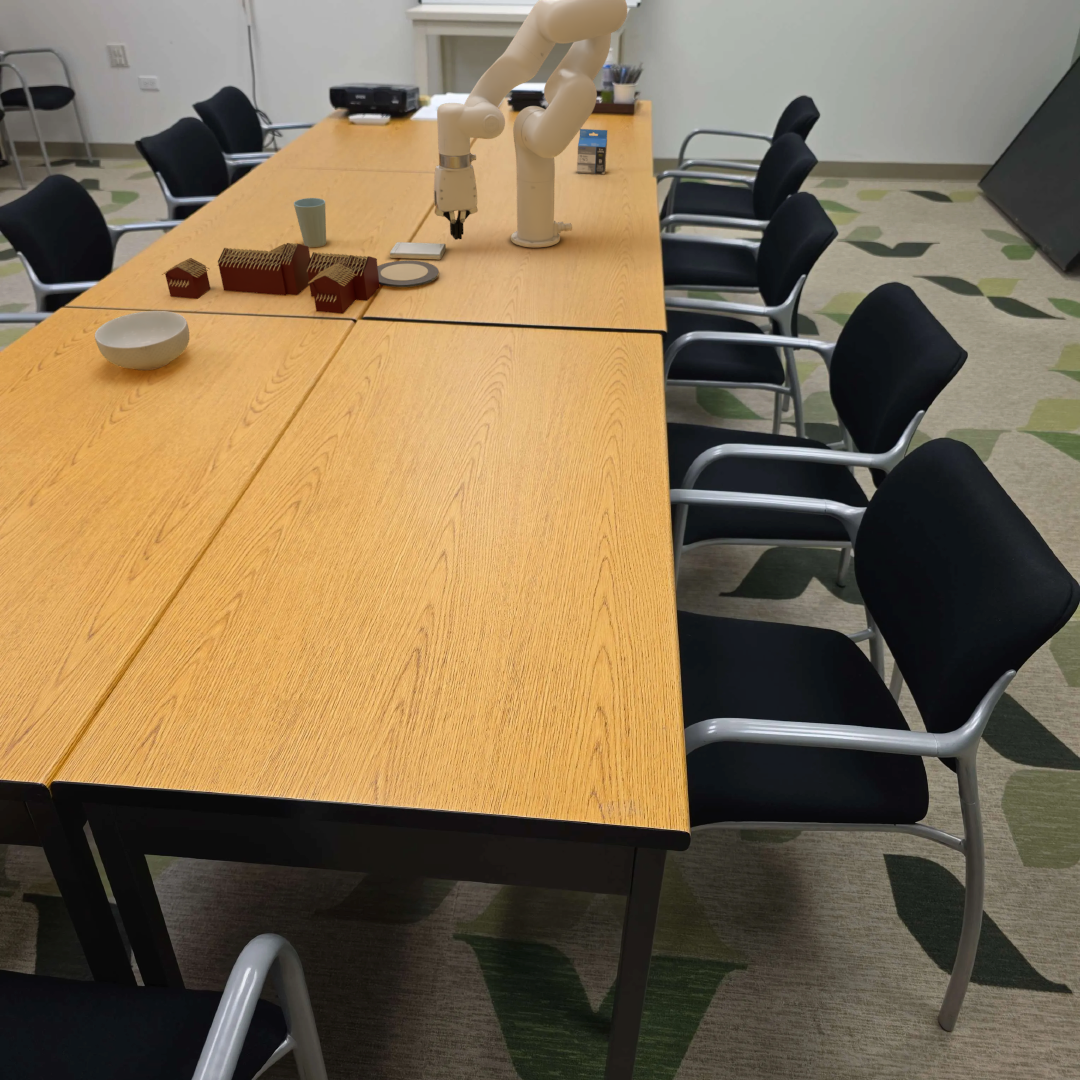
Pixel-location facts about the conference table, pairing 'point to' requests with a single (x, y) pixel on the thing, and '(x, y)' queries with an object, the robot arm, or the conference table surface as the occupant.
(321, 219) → the cup
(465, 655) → the conference table surface
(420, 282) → the plate
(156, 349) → the cereal bowl
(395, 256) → the hard drive
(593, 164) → the ink cartridge box
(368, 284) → the toy houses
